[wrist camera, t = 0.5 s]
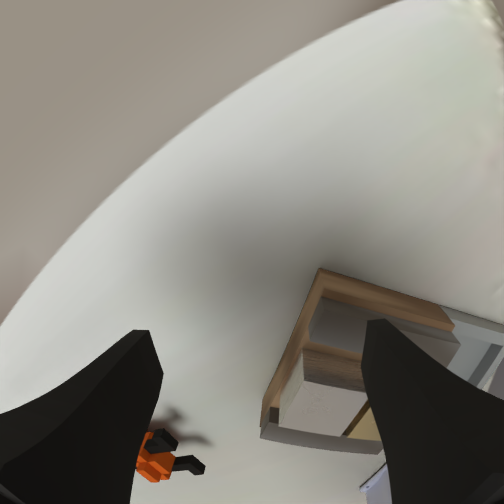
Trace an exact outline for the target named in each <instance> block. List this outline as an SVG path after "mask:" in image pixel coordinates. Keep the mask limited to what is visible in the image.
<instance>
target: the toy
mask: <svg viewBox="0 0 504 504" xmlns="http://www.w3.org/2000/svg"><path fill="white" fill-rule="evenodd" d="M178 443H179V442H178V441H177V440H176V439H174V438H173V437H172V436H171V435H170V434H169V433H168V432H167V431H166V430H165V429H164V428H163V429H158V430H155V432H154V433H153V432H152V433H151V432H146V434H145V437H144V440H143V443H142V445H141V448H140V452H139V455H138V459H137V463H136V468H135V469H137V470H136V471H137V472H138V473H140V474H141V475H142V476H143V477H145V478H146V479H147V480H149V481H150V482H159V481H160V479H161V480H169V478H170V475H171V472H172V471H183V470H189V471H190V472H191V473H193V474H194V475H202V474H204V470H205V467H206V466H205V465H204V464H203V463H201V462H200V461H199V460H198V459H197V458H196V457H194V456H193V455H188V456H181V457H175V456H174V455H173V454H171V453H170V452H171V451H176V448H177V445H178Z"/></svg>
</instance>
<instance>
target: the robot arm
mask: <svg viewBox="0 0 504 504" xmlns="http://www.w3.org/2000/svg"><path fill="white" fill-rule="evenodd" d="M361 372H362V377H363V382H364V387H365V391H366V395H367V398H368V401H369V404H370V407H371V410H372V413H373V416H374V419H375V422H376V425H377V428H378V431H379V434H380V438H381V441H382V444H383V448H384V452H385V456H386V462H387V464H386V465H385V466H384V467H382V468H381V469H380V470H379V471H378V472H377V473H376V474H375V475H374V476H373V477H372V478H371V479H370V480H369V481H367V482H366V483H365V484H364V485H363V486H362V487H361V488H360V489H359V490H360V492H366V497H367V504H504V400H502V399H500V398H497V397H495V396H493V395H491V394H489V393H487V392H485V391H483V390H481V389H479V388H477V387H476V386H474V385H472V384H470V383H469V382H467V381H465V380H464V379H462V378H460V377H459V376H457V375H456V374H454V373H453V372H451V371H450V370H448V369H447V368H446V367H444V366H443V365H442V364H440V363H439V362H437V361H436V360H435V359H433V358H432V357H431V356H430V355H428V354H427V353H426V352H424V351H423V350H422V349H421V348H420V347H418V346H417V345H416V344H415V343H414V342H412V341H411V340H410V339H409V338H408V337H406V336H405V335H404V334H403V333H402V332H401V331H399V330H398V329H397V328H396V327H395V326H394V325H392V324H391V323H390V322H389V321H388V320H386V319H385V318H384V319H375V320H367V327H366V335H365V342H364V348H363V354H362V361H361ZM163 374H164V373H163V370H162V368H161V365H160V362H159V359H158V356H157V353H156V350H155V347H154V344H153V341H152V338H151V335H150V332H149V330H132V331H131V332H129V333H128V334H127V335H125V336H124V337H123V338H121V339H120V340H119V341H118V342H116V343H115V344H114V345H113V346H111V347H110V348H109V349H108V350H106V351H105V352H104V353H103V354H101V355H100V356H99V357H98V358H96V359H95V360H94V361H93V362H91V363H90V364H89V365H87V366H86V367H85V368H83V369H82V370H81V371H79V372H78V373H77V374H75V375H74V376H73V377H71V378H70V379H68V380H67V381H65V382H64V383H62V384H61V385H59V386H58V387H56V388H54V389H53V390H51V391H49V392H48V393H46V394H44V395H42V396H41V397H38V398H36V399H34V400H32V401H30V402H28V403H26V404H24V405H22V406H20V407H18V408H15V409H13V410H10V411H7V412H5V413H2V414H0V504H130V497H131V490H132V484H133V478H134V473H135V468H136V463H137V459H138V455H139V452H140V448H141V445H142V443H143V440H144V437H145V434H146V431H147V429H148V426H149V423H150V420H151V418H152V415H153V412H154V409H155V407H156V404H157V401H158V398H159V394H160V389H161V384H162V379H163Z"/></svg>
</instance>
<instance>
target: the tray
mask: <svg viewBox="0 0 504 504" xmlns="http://www.w3.org/2000/svg"><path fill="white" fill-rule="evenodd" d="M439 307H440V308H441V309H442V310H443V311H444V312H445V314H446V315H447V316H448V317H449V318H450V320H451V321H452V322H453V323H454V324H455V327H454V329H453V331H452V333H453V334H454V336H455V337H456V338H457V340H458V341H459V342H460V344H461V346H460V348H459V349H458V351H457V352H456V354H455V356H454V357H453V359H452V360H451V362H450V363H449V365H448V367H447V369H448V370H450V371H451V372H453V373H454V374H456V375H457V376H459V377H460V378H462V379H464V380H465V381H467V382H469V383H470V384H472V385H474V386H476V387H477V388H479V389H481V390H482V388H483V387H484V385H485V384H486V383H487V381H488V380H489V378H490V377H491V376H492V374H493V373H494V371H495V370H496V368H497V367H498V365H499V364H500V362H501V360H502V359H503V357H504V325H502V324H498V323H495V322H492V321H489V320H486V319H482V318H479V317H476V316H473V315H470V314H467V313H463V312H460V311H457V310H454V309H451V308H447V307H444V306H441V305H439Z"/></svg>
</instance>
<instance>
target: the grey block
mask: <svg viewBox="0 0 504 504" xmlns="http://www.w3.org/2000/svg"><path fill="white" fill-rule="evenodd" d="M367 399H368V398H367V395H366V391H365V387H364V382H363V377H362V372H361V361H357V360H352V359H348V358H344V357H339V356H335V355H331V354H326V353H322V352H318V351H314V350H310V349H306V348H302V349H301V351H300V353H299V355H298V357H297V359H296V362H295V364H294V366H293V368H292V370H291V372H290V374H289V376H288V378H287V380H286V382H285V384H284V386H283V388H282V390H281V392H280V408H279V427H284V428H289V429H294V430H300V431H305V432H311V433H317V434H324V435H331V436H338V437H340V436H341V435H342V433H343V432H344V431H345V429H346V428H347V427H348V425H349V424H350V423H351V421H352V420H353V419H354V417H355V416H356V415H357V413H358V412H359V411H360V409H361V408H362V406H363V405H364V404H365V402H366V401H367Z"/></svg>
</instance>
